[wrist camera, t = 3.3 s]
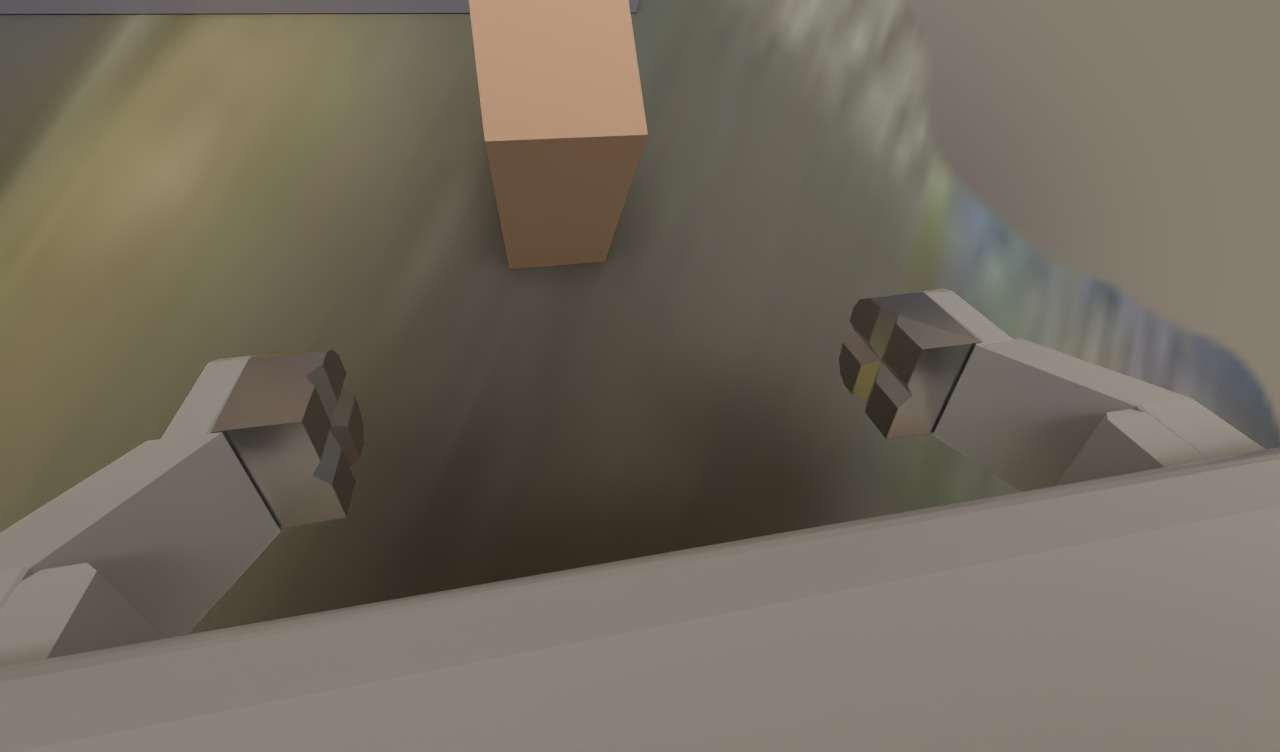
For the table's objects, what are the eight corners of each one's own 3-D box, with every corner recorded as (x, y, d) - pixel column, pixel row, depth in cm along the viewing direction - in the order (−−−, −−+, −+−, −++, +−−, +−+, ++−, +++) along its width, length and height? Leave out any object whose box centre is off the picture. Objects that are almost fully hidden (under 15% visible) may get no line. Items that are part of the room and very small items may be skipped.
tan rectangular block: (509, 269, 21) (485, 141, 12) (494, 138, 21) (459, -77, 13) (605, 261, 22) (647, 134, 13) (588, 135, 22) (618, -73, 13)
